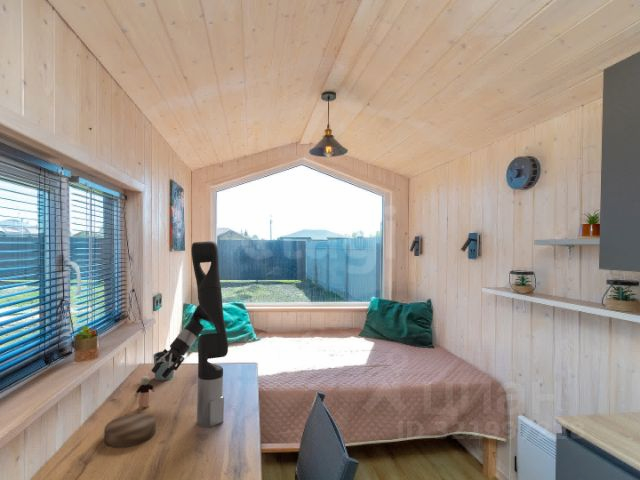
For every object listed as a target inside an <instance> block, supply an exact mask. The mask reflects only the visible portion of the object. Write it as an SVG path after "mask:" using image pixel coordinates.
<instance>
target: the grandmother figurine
mask: <svg viewBox="0 0 640 480" xmlns="http://www.w3.org/2000/svg"><path fill="white" fill-rule="evenodd" d="M150 381H151V378H150V377H149V376H146V375H144V376H142V377H141V379H140V382H141V384H142V385H139V387H138V388H137V390H136V391H135V393H134V397H136V398H137V396H138V395H139V396H138V397H139V399H138V407H137V410H140V411H141V410H144V408H145V409H148V408H150V405H149V404H150V390H151V392H153V393H154V392H156V390H155V388H154V385H151V384H149V383H150ZM139 393H140V394H139Z"/></svg>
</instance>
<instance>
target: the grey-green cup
mask: <svg viewBox="0 0 640 480" xmlns="http://www.w3.org/2000/svg"><path fill="white" fill-rule="evenodd" d="M162 352H163V350H162V351H158V352H155V353H154V354H153V356H152V357H153V365H154V366H155V365H156V364H157V361H156V359H157V357H158V356H159V355H160V354H161V353H162ZM160 359H161V357H160ZM162 362H163V361H162ZM168 366H169V363H164V364H163V365H161V367H160V368H159V369H158V371H157V372H156V373H154V380H156V381H158V380H161V381H162V382H164V381H163V380H165V381H168V380H169V381H170V380H171V378H172V379H173V378H174V372H175V370H173V371H171V372H170V374H169V375H168V376H167V377H166V378H164V377H162V374H163V373H164V371H165V370H166V369H167V368H168ZM161 381H160V382H161Z"/></svg>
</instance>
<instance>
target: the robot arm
mask: <svg viewBox="0 0 640 480" xmlns="http://www.w3.org/2000/svg"><path fill="white" fill-rule="evenodd" d="M190 250H191V251H190V252H191V260H192V266H193V273H194V276H195V277H194V278H195V281H196V287H197V288H196V289H197V301H198V306H196V308H194V311H193V314H192V315H191V318H190V320H189V322H188V323H187V325H185V327H184V328H183V329H182V330H181V331H180V333H178V334H177V336H176V338H174V340H173V341H172V342H171V343H170V345H169V347H170V348H169V349H168V350H167V348H165V349H163V350H162V351H163V352H162V353H161V354H160V355H159V356H158V357H157V359H156V361H157V364H156V365H154V366H153V367H152V368H151V372H152V373H153V374H155V373H156V372H157V371H158V369H159V368H160V367H161V365H163V364H164V363H169V366H168V368H167V369H166V370H165V371H164V373H163V374H162V377H164V378H166V377H167V376H168V375H169V374H170V372H171V371H173V370H174V371H178V369H179V368H180V366H181V365H182V363H183V362H184V360H185V357H184V356H185V355H186V354H187V352H188V351H189V350H190V348H191V347H192V346H193V344H194V343H195V341H196V340H197V338H198V340H197V359H198V360H197V361H198V362H197V365H198V366H197V396H196V397H197V401H196V424H197V425H198V426H199V427H206V428H213V427H215V426H217V425H220V424H221V423H224V416H225V415H224V413H225V412H224V411H225V410H224V407H225V397H224V396H223V389H224V384H223V383H224V368H223V366H221V365H220V364H219V365H218V364H214V363H211V362H209V361H208V360H209V359H210V360H211V359H217V358H218V359H219V358H224V357H226V356H227V355H228V352H229V343H228V342H229V339H228V335H227V330H226V324H225V318H224V306H223V296H222V295H223V294H222V285H221V279H220V271H219V269H220V268H219V267H220V266H219V265H220V264H219V249H218V244H217V242H215V241H210V240H207V241H196V242H192V244H191V249H190ZM202 263H210V265H209V269H208V271H207V272H206V273H205V272H204V270H203V268H202V266H201V264H202ZM201 320H202V321H205V322H207V323H212V325H213V326H214V329H215V331H216V332H214V333H212V332H211V333H204V334H203V333H202V332H203V330H204V325H203V324H202V322H201ZM201 333H202V334H201ZM160 357H161V359H160ZM162 361H163V362H162Z"/></svg>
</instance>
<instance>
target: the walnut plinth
mask: <svg viewBox="0 0 640 480" xmlns="http://www.w3.org/2000/svg"><path fill="white" fill-rule="evenodd" d="M156 425H157V419H156V416H154V415H152V414H150V413H144V412H143V413H141V412H140V413H138V412H137V413H131V414H125V415H123V416H119V417H116V418H114V419H112V420H111V421H109V422H108V423H106V425H105V426H104V430H103V431H104V432H103V433H104V435H103V437H104V438H103V443H104V445H106V446H107V447H111V448H114V449H123V448H124V449H126V448H131V447H135V446H138V445H141V444H143V442H144V443H146V442H147V441H149V440H151V439H152V438H153V437H154V436H155V434H156ZM145 441H146V442H145Z"/></svg>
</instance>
